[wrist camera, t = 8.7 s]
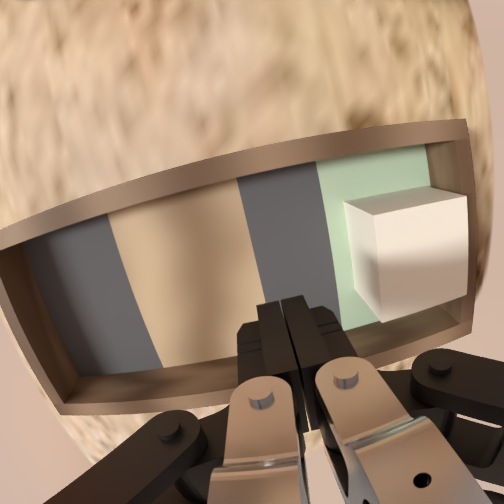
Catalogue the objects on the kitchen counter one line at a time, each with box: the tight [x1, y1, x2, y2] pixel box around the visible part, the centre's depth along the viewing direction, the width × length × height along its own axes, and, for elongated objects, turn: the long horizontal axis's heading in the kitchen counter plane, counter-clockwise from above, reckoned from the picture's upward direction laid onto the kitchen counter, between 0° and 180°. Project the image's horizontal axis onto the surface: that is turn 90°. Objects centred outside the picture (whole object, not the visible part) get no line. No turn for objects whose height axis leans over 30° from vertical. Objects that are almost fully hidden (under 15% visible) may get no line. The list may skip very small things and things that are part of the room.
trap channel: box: [0, 119, 477, 415], centre depth 16 cm, size 26×12×4 cm, turn 103°
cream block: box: [343, 186, 468, 323], centre depth 15 cm, size 5×5×4 cm
